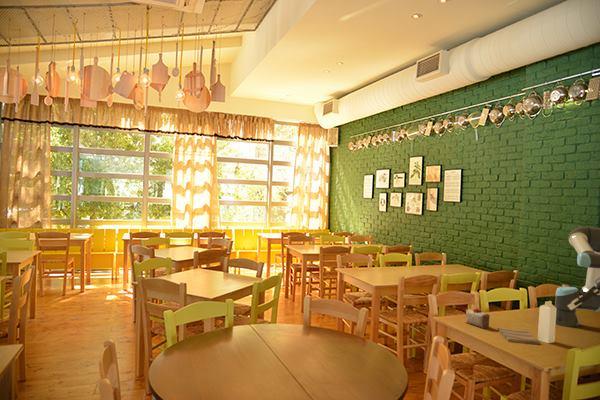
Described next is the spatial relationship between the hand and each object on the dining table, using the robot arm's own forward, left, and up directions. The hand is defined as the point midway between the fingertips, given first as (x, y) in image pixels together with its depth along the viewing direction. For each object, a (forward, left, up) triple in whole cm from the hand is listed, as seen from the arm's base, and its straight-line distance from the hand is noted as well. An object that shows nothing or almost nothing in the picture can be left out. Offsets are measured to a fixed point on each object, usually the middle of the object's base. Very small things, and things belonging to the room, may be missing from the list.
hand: (571, 305), depth 231 cm
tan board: (-8, -23, -22) cm, 33 cm away
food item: (-24, -41, -22) cm, 53 cm away
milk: (-6, -9, -22) cm, 24 cm away
